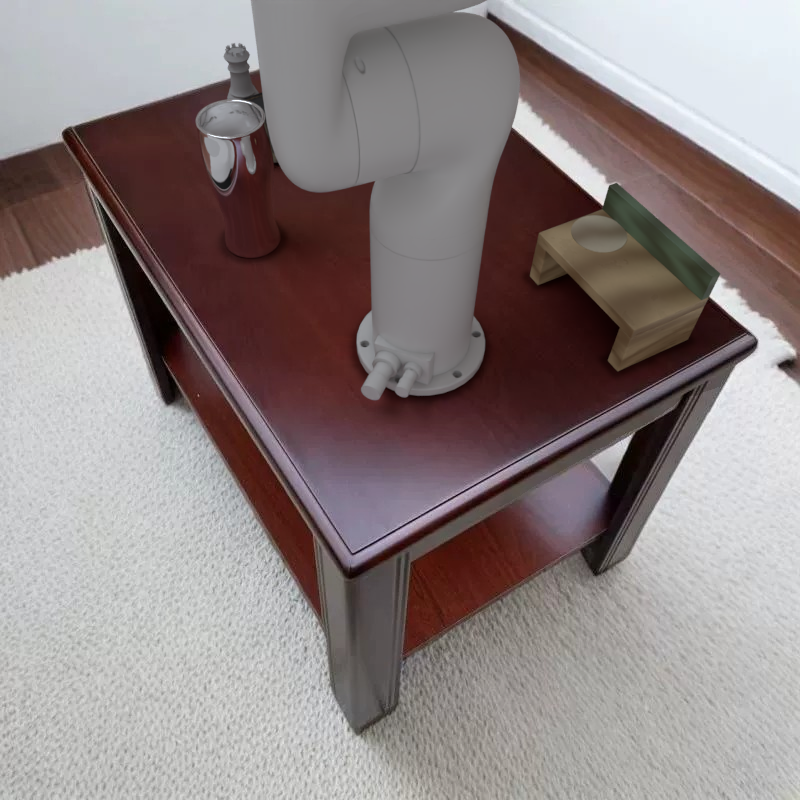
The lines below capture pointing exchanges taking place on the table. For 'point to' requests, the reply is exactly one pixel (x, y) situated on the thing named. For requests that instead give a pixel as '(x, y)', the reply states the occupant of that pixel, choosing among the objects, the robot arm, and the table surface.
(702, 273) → the shelf
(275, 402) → the table surface
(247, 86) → the rook chess piece
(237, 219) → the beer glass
